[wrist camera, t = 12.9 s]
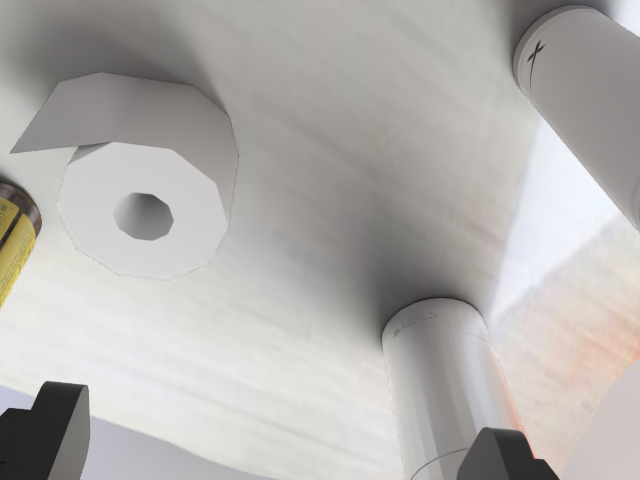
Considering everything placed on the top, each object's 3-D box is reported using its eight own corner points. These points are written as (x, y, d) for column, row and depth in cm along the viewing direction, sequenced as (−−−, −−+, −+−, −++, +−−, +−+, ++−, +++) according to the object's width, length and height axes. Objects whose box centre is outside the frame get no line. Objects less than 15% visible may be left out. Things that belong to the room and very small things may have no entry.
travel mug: (490, 46, 36) (652, 236, 20) (592, -19, 34) (865, 134, 18) (528, 121, 39) (695, 337, 23) (624, 65, 37) (880, 260, 21)
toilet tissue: (28, 61, 35) (-35, 122, 28) (245, 93, 37) (235, 157, 30) (44, 186, 40) (-5, 262, 34) (233, 208, 42) (223, 285, 35)
